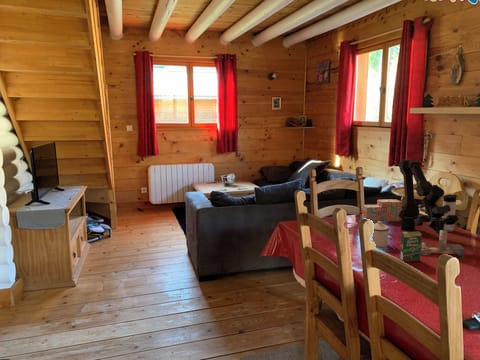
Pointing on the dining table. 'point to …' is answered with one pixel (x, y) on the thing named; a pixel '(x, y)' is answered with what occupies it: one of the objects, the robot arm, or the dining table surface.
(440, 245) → the link
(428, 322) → the dining table surface
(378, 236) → the teacup with lid
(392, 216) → the stack of blocks
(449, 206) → the robot arm
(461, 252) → the keeper
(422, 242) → the pintle
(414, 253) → the coffee box
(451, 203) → the travel mug
